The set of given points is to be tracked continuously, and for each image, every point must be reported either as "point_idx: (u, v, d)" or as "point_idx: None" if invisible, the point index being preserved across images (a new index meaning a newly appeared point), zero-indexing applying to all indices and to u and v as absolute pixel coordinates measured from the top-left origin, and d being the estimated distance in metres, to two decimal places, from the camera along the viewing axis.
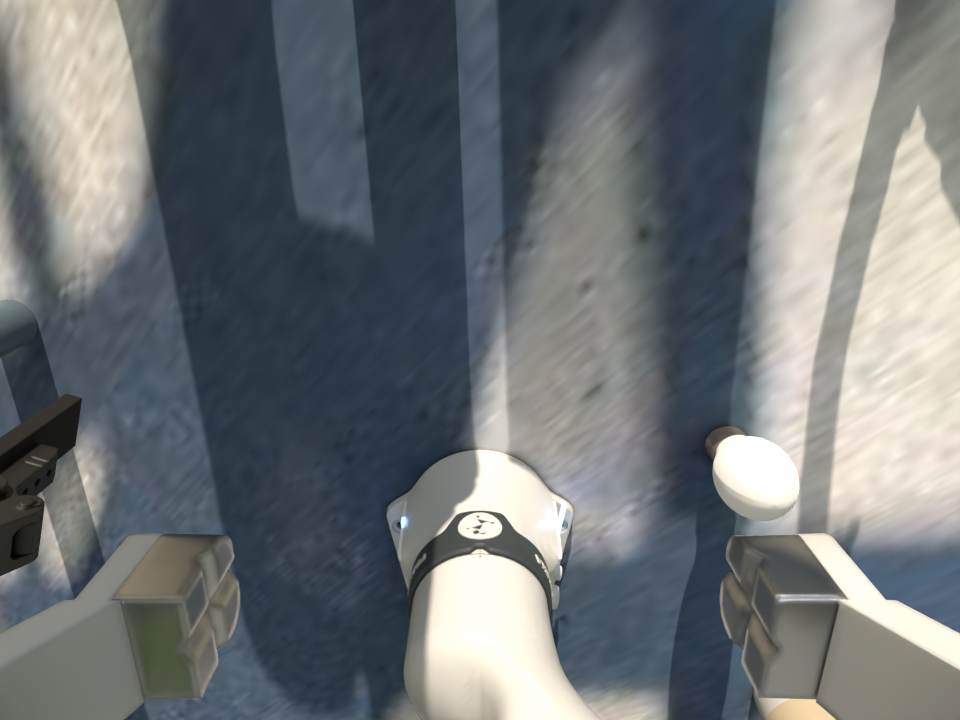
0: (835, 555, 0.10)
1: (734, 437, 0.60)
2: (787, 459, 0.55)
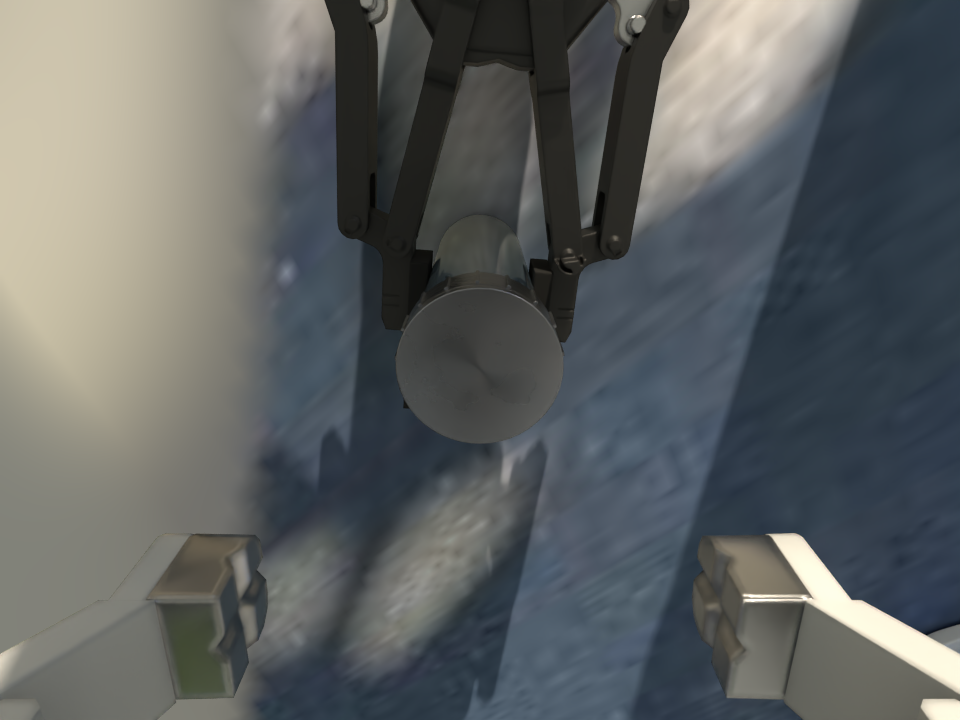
0: (804, 555, 0.10)
1: None
2: None
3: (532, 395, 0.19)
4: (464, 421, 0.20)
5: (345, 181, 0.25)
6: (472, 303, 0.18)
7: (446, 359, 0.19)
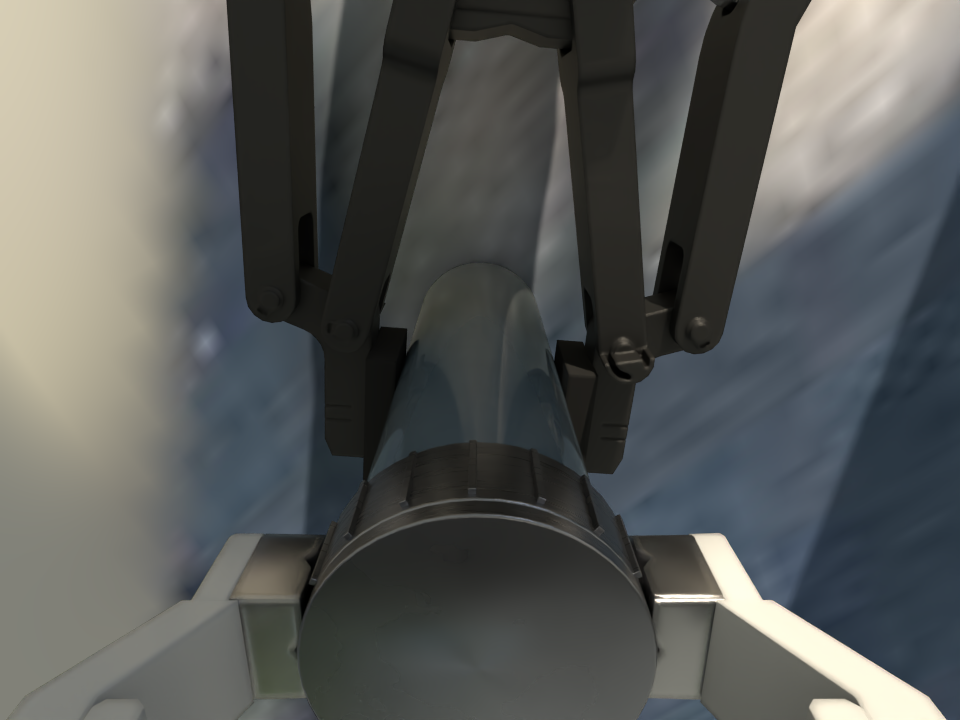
0: (723, 555, 0.10)
1: None
2: None
3: (589, 713, 0.09)
4: None
5: (255, 230, 0.15)
6: (461, 545, 0.08)
7: (406, 650, 0.09)
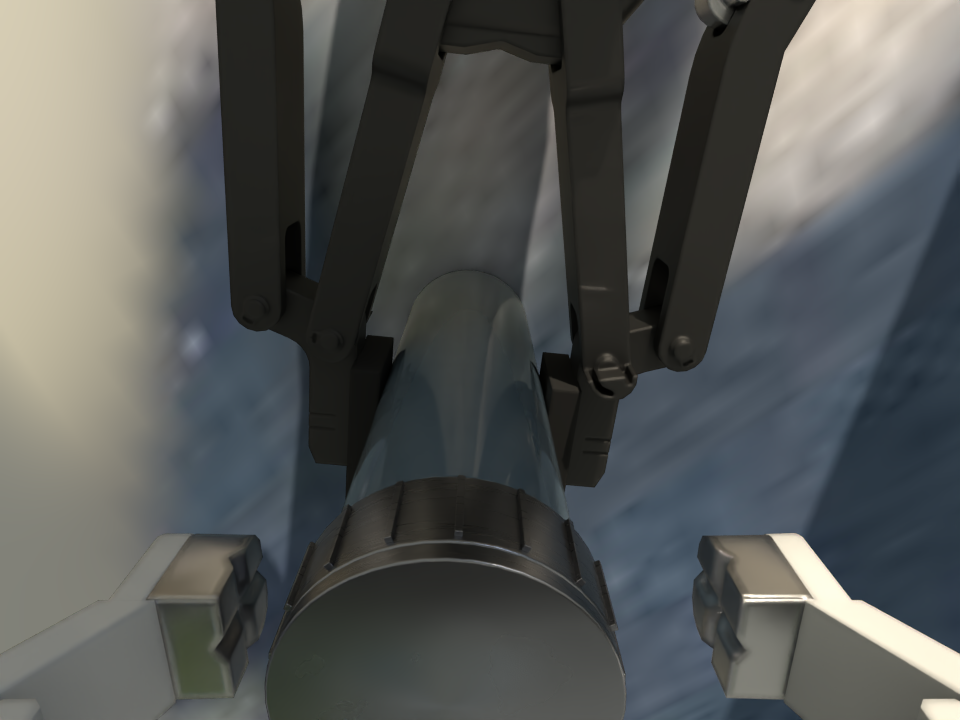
0: (804, 555, 0.10)
1: None
2: None
3: (562, 657, 0.09)
4: None
5: (241, 239, 0.15)
6: (307, 656, 0.09)
7: None
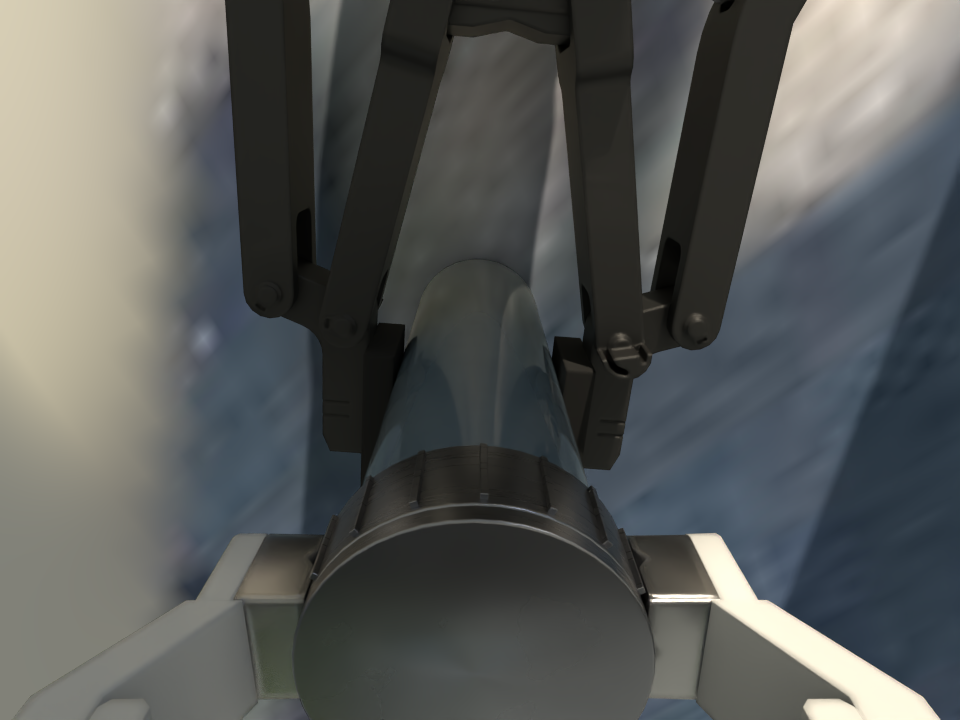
0: (719, 554, 0.10)
1: None
2: None
3: (591, 620, 0.08)
4: None
5: (252, 225, 0.15)
6: (334, 623, 0.08)
7: (419, 710, 0.09)
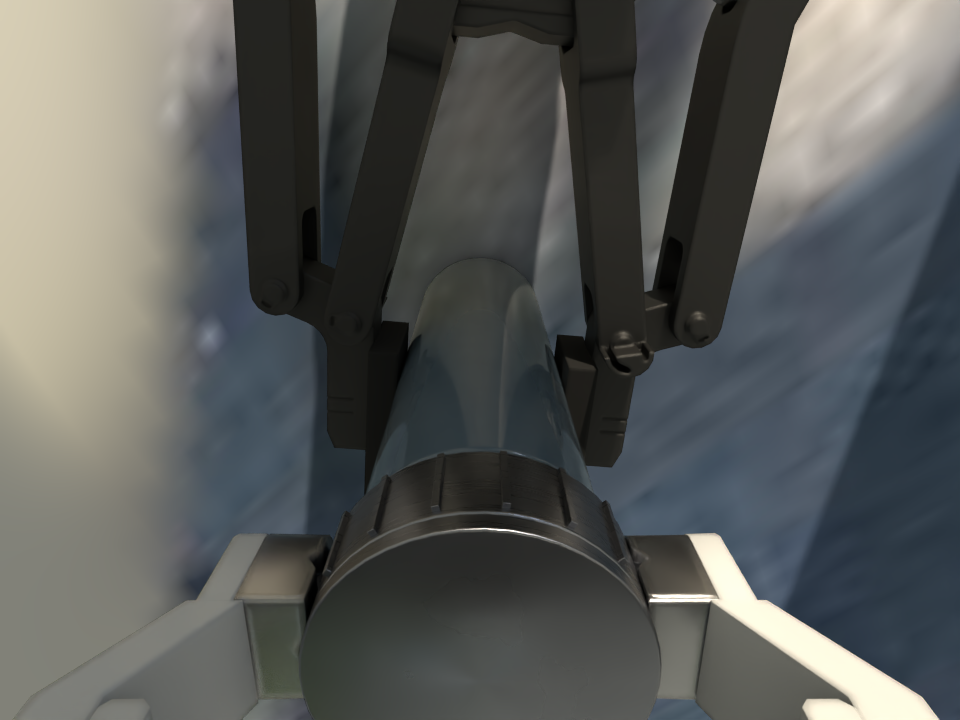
0: (717, 554, 0.10)
1: None
2: None
3: (480, 573, 0.08)
4: (607, 660, 0.09)
5: (259, 223, 0.15)
6: None
7: None
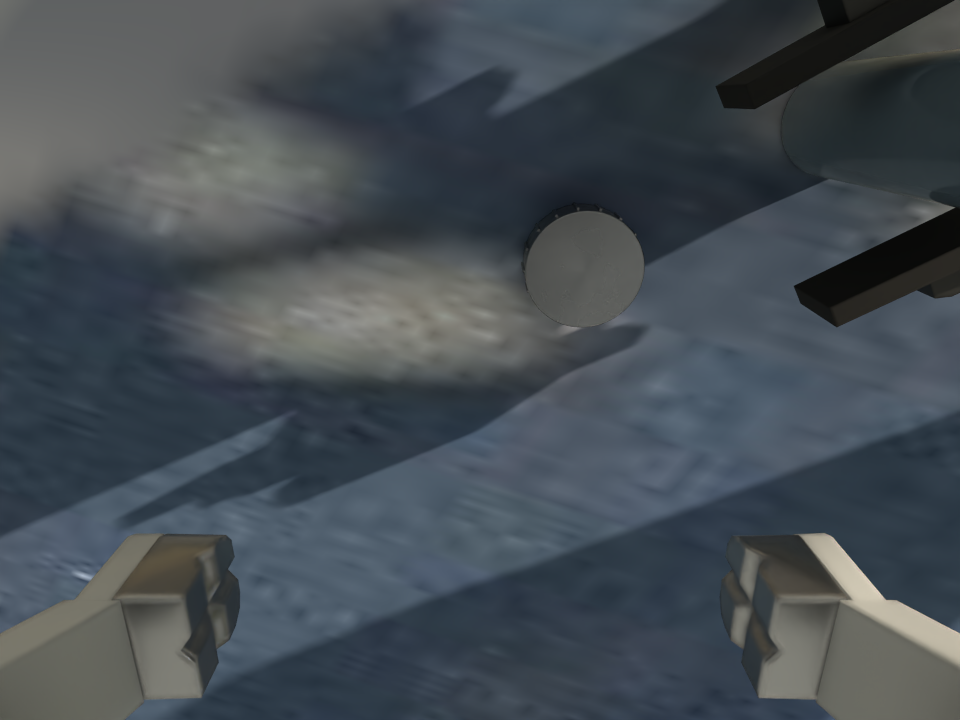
0: (835, 555, 0.10)
1: None
2: None
3: (591, 228, 0.26)
4: (627, 266, 0.27)
5: None
6: (541, 293, 0.27)
7: (585, 294, 0.27)
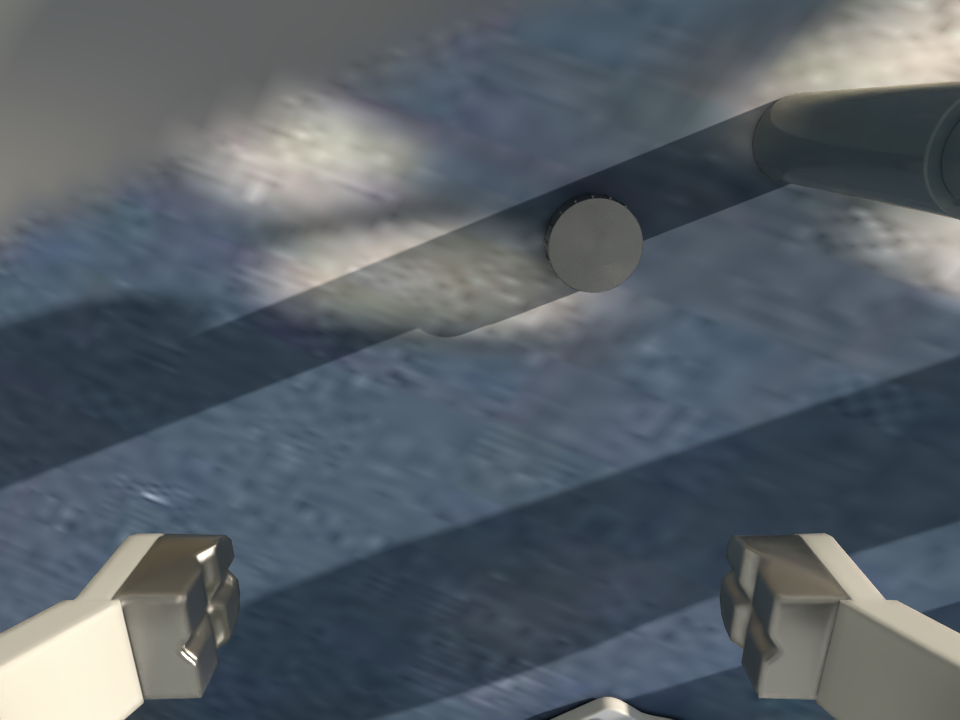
0: (835, 555, 0.10)
1: None
2: None
3: (603, 212, 0.33)
4: (629, 244, 0.34)
5: None
6: (560, 262, 0.34)
7: (595, 265, 0.34)
